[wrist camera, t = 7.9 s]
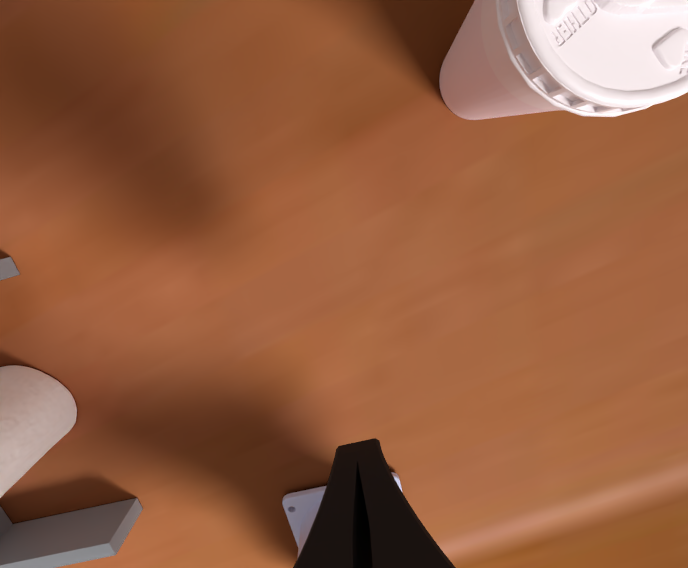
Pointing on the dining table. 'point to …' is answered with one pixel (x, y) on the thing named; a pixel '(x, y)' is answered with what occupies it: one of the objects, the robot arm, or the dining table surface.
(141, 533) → the dining table surface
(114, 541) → the box
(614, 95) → the smoothie
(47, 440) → the white rounded-top container
